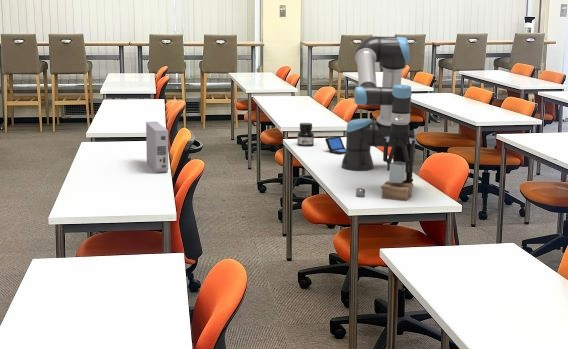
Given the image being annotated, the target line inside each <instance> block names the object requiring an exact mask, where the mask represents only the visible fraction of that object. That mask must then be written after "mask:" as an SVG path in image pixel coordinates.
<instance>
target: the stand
mask: <svg viewBox="0 0 568 349" xmlns="http://www.w3.org/2000/svg"><path fill="white" fill-rule="evenodd" d="M413 187H414V183H413V182H412V183H403V182H402V183H394V182H389V180H387V181H386V182H384V183H383V184H382V185H380V189H381V192H382V193H381V199H386V200H387V199H388V200H394V201H395V200H397V201H404V202H405V201H407V200H408V199H409V198H410V197H411V196H412V192H413V191H412V188H413Z"/></svg>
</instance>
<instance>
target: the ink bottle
mask: <svg viewBox="0 0 568 349" xmlns="http://www.w3.org/2000/svg"><path fill="white" fill-rule="evenodd" d="M314 135H315V133H314V132H313V123H311V122H300V123H299V131H298V133H297V145H298V146H299V147H312V146H314V143H315V142H314V138H315V136H314Z"/></svg>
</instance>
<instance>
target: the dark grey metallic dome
mask: <svg viewBox="0 0 568 349" xmlns="http://www.w3.org/2000/svg"><path fill="white" fill-rule="evenodd" d="M355 196H356V198H365V197H366V189H365V188H361V187H358V188H355Z"/></svg>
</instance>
